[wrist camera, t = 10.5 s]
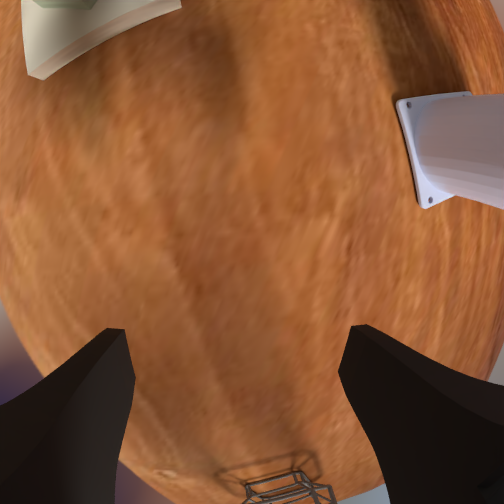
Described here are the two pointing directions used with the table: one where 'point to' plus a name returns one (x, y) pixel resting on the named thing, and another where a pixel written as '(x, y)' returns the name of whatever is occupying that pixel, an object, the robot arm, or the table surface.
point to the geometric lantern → (309, 490)
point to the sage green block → (66, 4)
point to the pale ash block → (79, 29)
